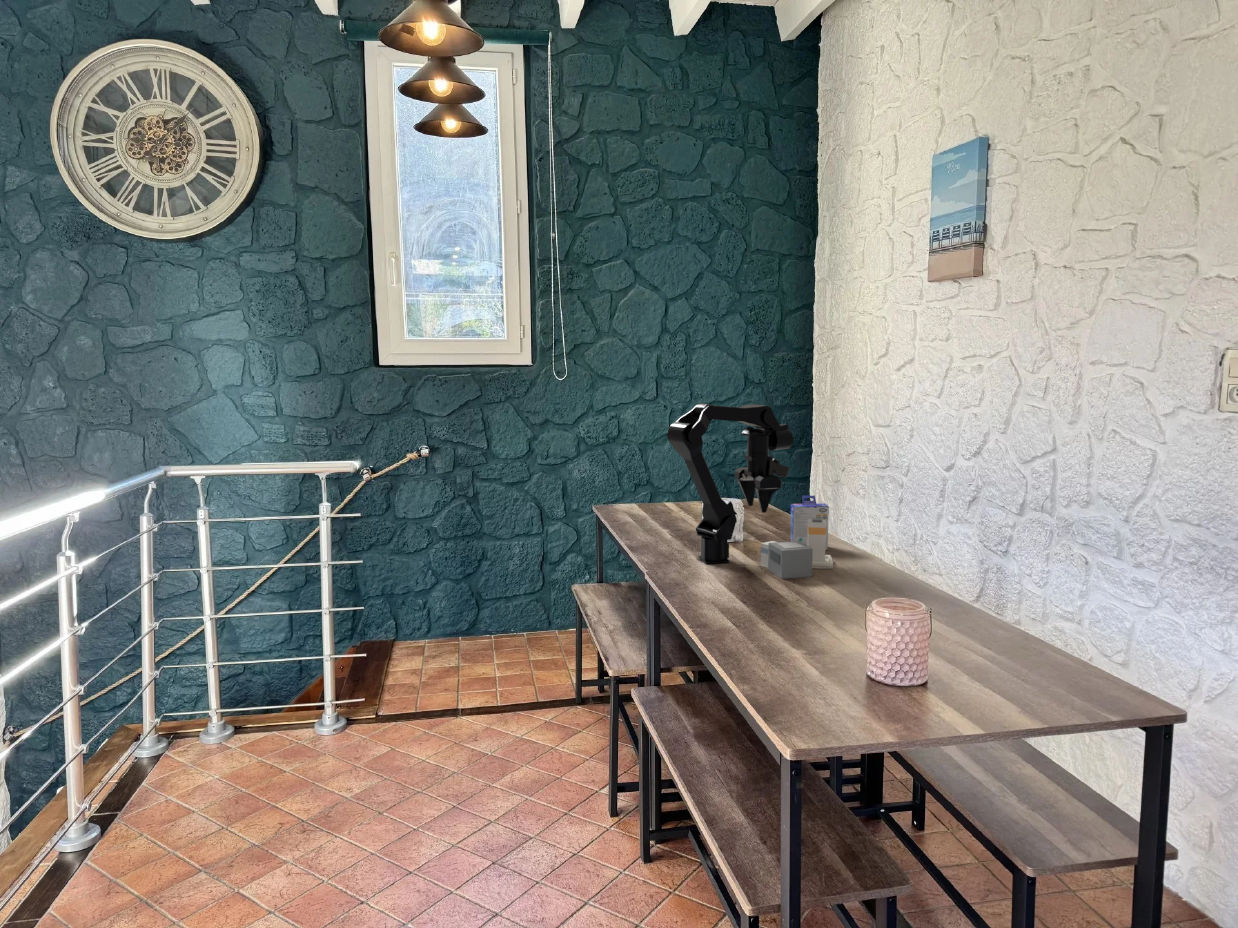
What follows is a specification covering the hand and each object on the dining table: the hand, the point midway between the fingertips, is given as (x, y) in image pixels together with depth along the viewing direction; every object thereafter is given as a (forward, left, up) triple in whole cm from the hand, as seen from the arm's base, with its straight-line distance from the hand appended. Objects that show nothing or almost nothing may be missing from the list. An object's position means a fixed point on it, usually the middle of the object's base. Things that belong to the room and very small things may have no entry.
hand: (757, 509), depth 220 cm
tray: (+10, -15, -12) cm, 22 cm away
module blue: (-2, -14, -12) cm, 19 cm away
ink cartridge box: (+16, +1, -12) cm, 20 cm away
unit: (0, -21, -12) cm, 24 cm away
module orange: (+10, -15, -11) cm, 21 cm away
